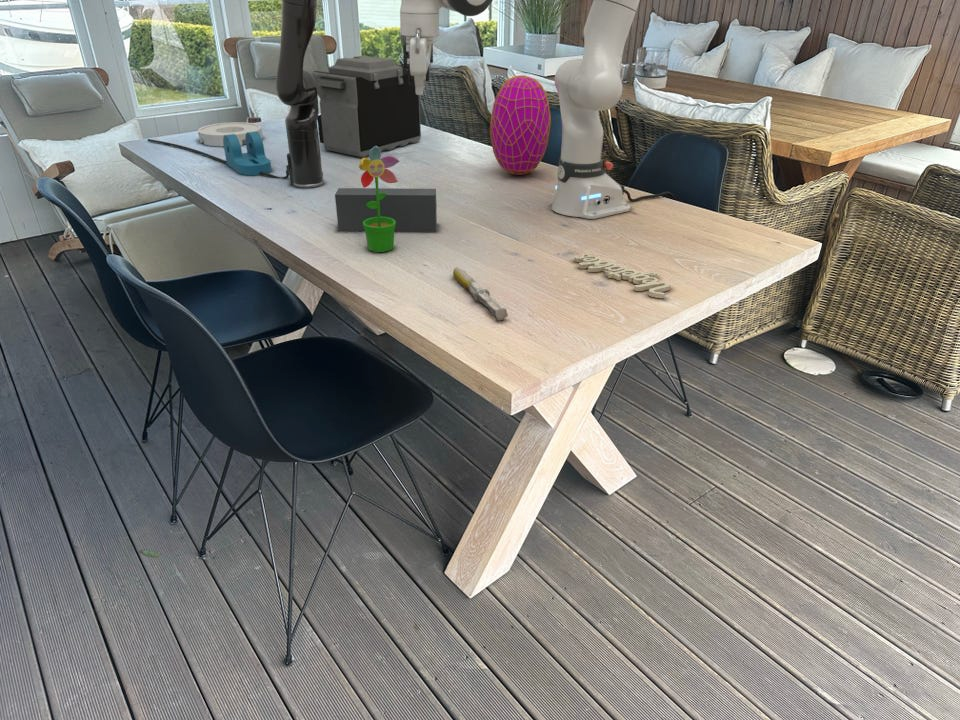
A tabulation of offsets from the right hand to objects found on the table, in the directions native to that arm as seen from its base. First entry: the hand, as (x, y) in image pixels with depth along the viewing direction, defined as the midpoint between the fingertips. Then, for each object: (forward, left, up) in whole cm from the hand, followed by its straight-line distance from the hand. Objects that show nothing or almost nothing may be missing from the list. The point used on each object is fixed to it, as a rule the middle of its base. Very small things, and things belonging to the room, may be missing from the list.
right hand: (420, 91), depth 164 cm
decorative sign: (-33, +46, -34) cm, 66 cm away
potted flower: (+14, +10, -34) cm, 38 cm away
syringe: (+2, +45, -34) cm, 56 cm away
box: (+9, -3, -34) cm, 35 cm away
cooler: (-9, -93, -34) cm, 99 cm away
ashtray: (+39, -120, -34) cm, 131 cm away
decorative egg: (-45, -39, -34) cm, 69 cm away
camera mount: (+37, -75, -34) cm, 90 cm away
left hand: (-7, -25, -2) cm, 26 cm away
